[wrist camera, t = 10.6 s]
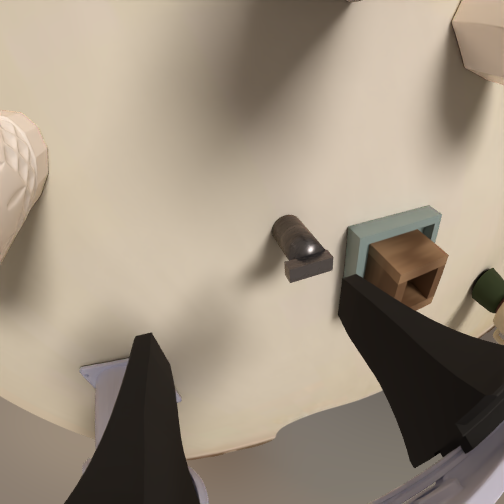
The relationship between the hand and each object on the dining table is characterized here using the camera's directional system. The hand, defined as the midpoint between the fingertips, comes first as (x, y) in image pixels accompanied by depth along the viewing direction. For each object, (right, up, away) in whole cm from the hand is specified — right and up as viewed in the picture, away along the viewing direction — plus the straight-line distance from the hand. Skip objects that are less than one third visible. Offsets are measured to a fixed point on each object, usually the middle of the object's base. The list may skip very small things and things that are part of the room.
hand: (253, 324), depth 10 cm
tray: (+13, +2, +16) cm, 20 cm away
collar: (+13, +2, +15) cm, 20 cm away
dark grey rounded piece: (+2, +4, +10) cm, 11 cm away
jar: (+21, +22, +4) cm, 31 cm away
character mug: (+38, -2, +27) cm, 47 cm away
